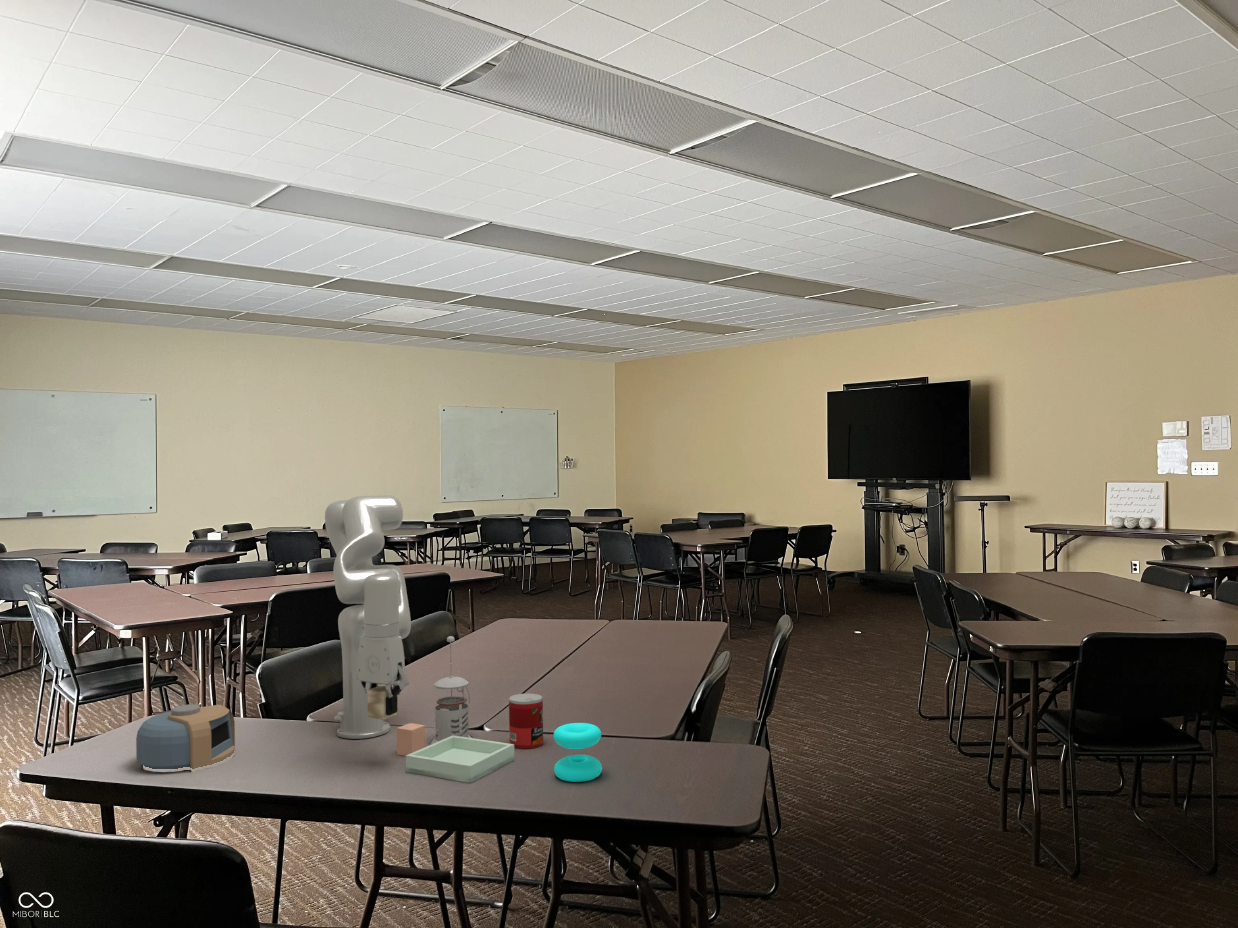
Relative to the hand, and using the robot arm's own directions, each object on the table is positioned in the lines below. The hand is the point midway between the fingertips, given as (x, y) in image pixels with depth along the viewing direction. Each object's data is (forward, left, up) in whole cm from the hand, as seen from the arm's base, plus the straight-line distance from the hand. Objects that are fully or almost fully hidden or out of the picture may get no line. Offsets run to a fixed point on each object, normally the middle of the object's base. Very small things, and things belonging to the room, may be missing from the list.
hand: (382, 711), depth 195 cm
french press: (+4, +20, -12) cm, 24 cm away
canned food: (+22, +24, -12) cm, 35 cm away
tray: (+17, +5, -11) cm, 21 cm away
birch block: (0, 0, -1) cm, 1 cm away
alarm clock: (-43, -17, -12) cm, 48 cm away
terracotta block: (+1, +8, -12) cm, 14 cm away
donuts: (+44, +11, -12) cm, 46 cm away
